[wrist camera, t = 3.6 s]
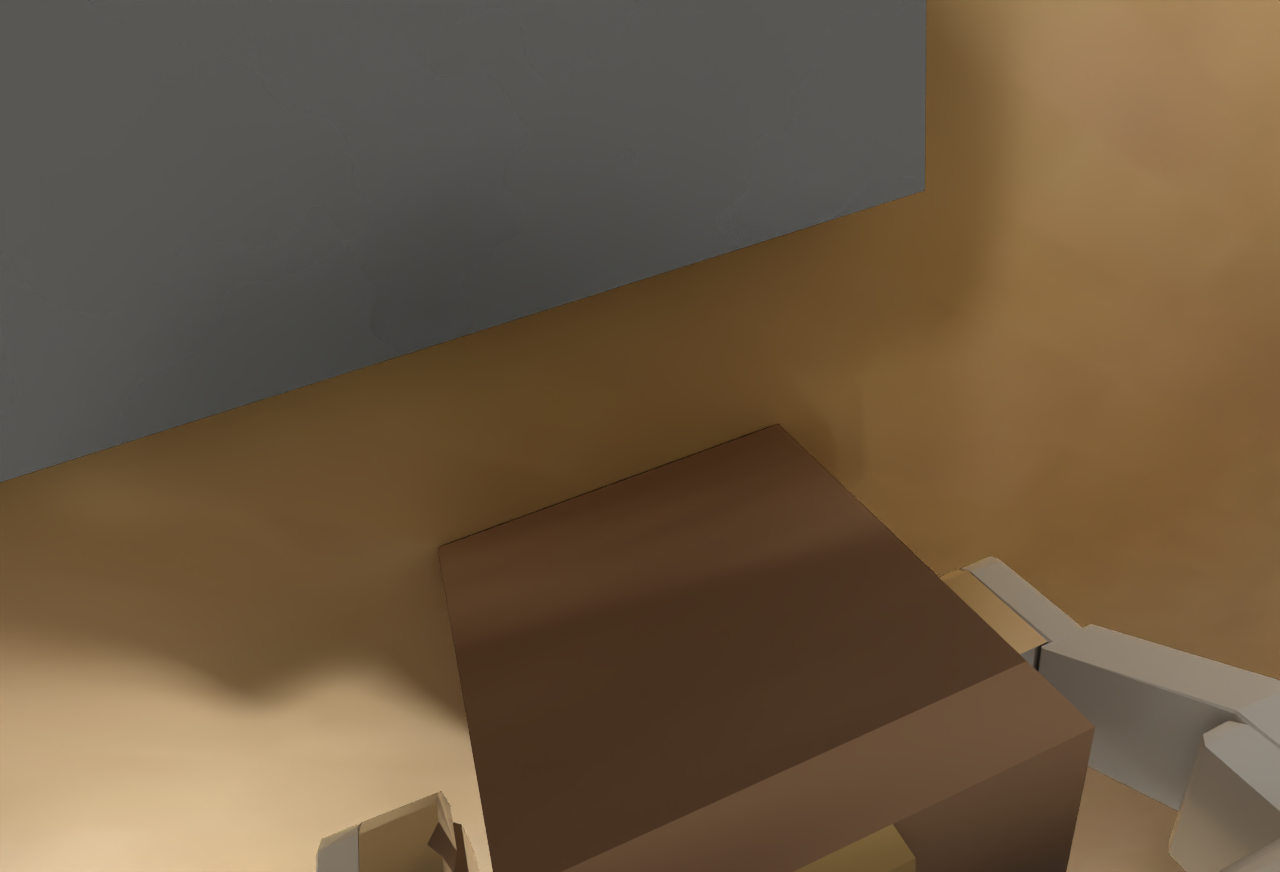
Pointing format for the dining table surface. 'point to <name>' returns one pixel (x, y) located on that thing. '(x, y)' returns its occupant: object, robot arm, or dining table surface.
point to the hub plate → (395, 178)
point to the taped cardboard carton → (747, 686)
